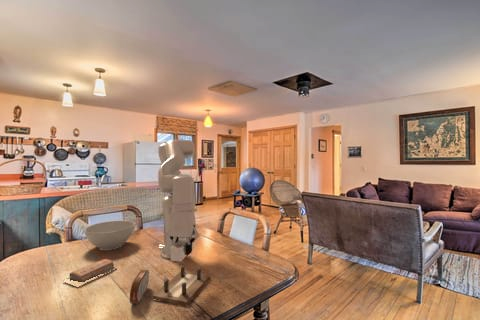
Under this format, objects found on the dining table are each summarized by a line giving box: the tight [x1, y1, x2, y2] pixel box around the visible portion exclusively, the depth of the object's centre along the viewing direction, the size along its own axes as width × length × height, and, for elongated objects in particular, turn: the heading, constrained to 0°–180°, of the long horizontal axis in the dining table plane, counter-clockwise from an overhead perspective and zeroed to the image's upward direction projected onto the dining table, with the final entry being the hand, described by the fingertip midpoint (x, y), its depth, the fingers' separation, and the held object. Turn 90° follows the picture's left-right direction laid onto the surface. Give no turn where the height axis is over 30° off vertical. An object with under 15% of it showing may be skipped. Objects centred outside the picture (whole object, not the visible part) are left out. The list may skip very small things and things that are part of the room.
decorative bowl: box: [83, 219, 136, 251], centre depth 145 cm, size 27×27×12 cm
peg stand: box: [152, 265, 211, 307], centre depth 98 cm, size 14×20×6 cm
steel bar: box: [170, 235, 195, 262], centre depth 97 cm, size 4×14×5 cm, turn 171°
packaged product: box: [63, 258, 118, 282], centre depth 109 cm, size 18×5×10 cm
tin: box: [129, 269, 150, 304], centre depth 92 cm, size 15×3×8 cm, turn 5°
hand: (183, 252), depth 97 cm, fingers closed on steel bar, 4 cm apart
